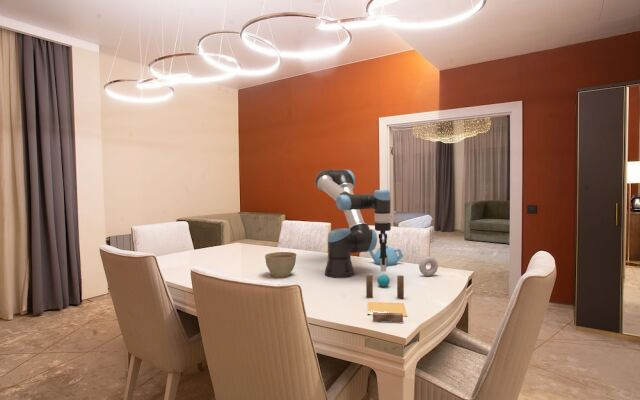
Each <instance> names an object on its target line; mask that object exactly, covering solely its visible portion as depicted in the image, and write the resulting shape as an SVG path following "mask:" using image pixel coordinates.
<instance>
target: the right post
mask: <svg viewBox="0 0 640 400" xmlns="http://www.w3.org/2000/svg"><path fill="white" fill-rule="evenodd" d="M396 277H397V278H396V279H397V281H396V285H397V286H396V288H397V289H396V294H397V295H396V298H397V299H399V300H403V299H404V298H405V296H404V295H405V294H404V293H405V289H404V288H405V286H404V285H405V283H404V282H405V276H404V275H401V274H400V275H397V276H396Z"/></svg>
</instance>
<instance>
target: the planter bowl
mask: <svg viewBox="0 0 640 400" xmlns="http://www.w3.org/2000/svg"><path fill="white" fill-rule="evenodd" d="M264 257H265V258H264V259H265V264H266V267H267V269H268V271H269V272H270V273H271V276H272V277H273V278H286V277H289V276H291V272H292V271H293V270H294V268H295V265H296V263H297V262H296V260H297V259H296V258H297V253H295V252H291V251H277V252H270V253H266V254H265V255H264Z"/></svg>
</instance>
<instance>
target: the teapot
mask: <svg viewBox="0 0 640 400" xmlns="http://www.w3.org/2000/svg"><path fill="white" fill-rule="evenodd" d="M368 252H369V254H370V257H372V260H373V261H374V263H375V265H378V266H380V258H379V257H380V247H379V248H378V249H377V250H376V252H375V253H374V252H373V250H372V251H368ZM396 252H398V255H397V253H396ZM386 256H387V257H386V267H389V266H390V267H391V266H395V265H397V264H398V262H399V261H400V260H401V259H402V258H403V257H404V255H403V252H402V249H401V248H395V249H394V248H392V247H389V245H388V244H386Z"/></svg>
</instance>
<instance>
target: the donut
mask: <svg viewBox="0 0 640 400" xmlns="http://www.w3.org/2000/svg"><path fill="white" fill-rule="evenodd" d="M428 264H430V268H429V269H428V268H427V265H428ZM438 268H439V263H438V262H437V259H436V258H435V257H432V256H429V255H428V256H424V257H423V258H422V259H421V260H420V262H419V263H418V269H419V272H420V273H421V274H422V275H423V276H425V277H431V276H433V275H435V274H436V273H437V271H438Z"/></svg>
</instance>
